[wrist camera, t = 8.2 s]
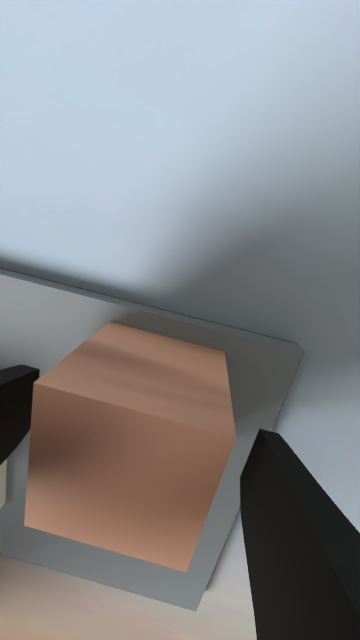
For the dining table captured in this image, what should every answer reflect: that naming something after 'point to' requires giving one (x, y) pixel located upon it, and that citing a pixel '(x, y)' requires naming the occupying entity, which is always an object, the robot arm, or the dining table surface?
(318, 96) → the dining table surface
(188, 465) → the terracotta block
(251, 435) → the grey board
